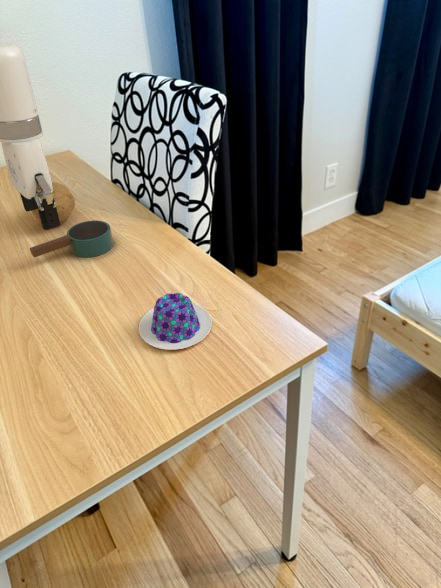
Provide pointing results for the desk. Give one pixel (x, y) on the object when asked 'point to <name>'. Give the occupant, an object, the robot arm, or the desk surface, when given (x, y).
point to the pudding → (175, 323)
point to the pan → (81, 240)
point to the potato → (60, 201)
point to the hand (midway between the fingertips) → (42, 218)
